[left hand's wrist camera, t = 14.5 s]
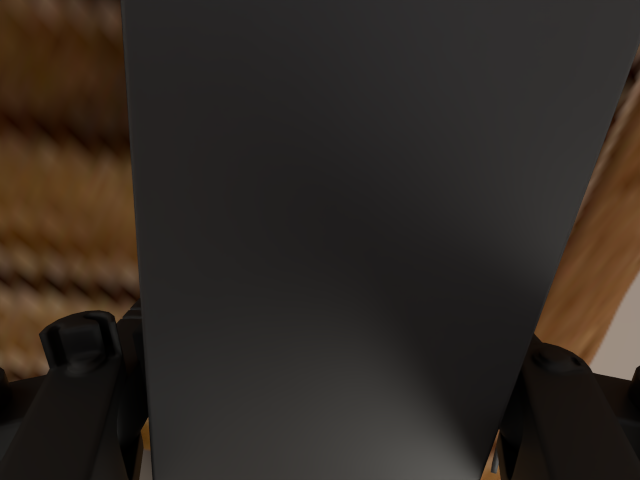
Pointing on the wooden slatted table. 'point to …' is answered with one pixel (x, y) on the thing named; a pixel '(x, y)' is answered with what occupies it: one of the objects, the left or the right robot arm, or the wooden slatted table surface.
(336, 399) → the bar
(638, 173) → the wooden slatted table surface
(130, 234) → the wooden slatted table surface
